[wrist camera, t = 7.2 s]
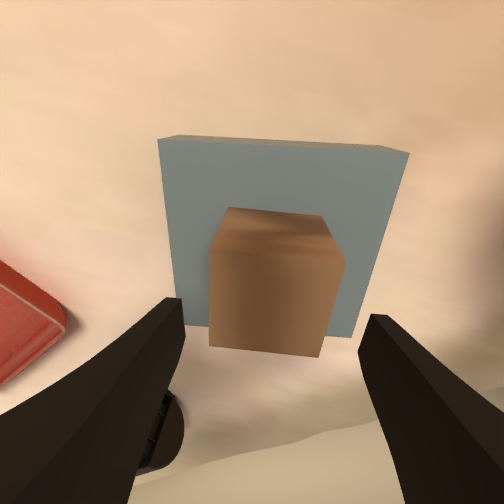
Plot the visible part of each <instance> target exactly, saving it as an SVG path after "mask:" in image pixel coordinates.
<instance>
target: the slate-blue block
mask: <svg viewBox="0 0 504 504" xmlns="http://www.w3.org/2000/svg"><path fill="white" fill-rule="evenodd" d="M157 140H158V148H159V156H160V165H161V173H162V182H163V190H164V198H165V207H166V215H167V223H168V232H169V240H170V249H171V257H172V265H173V274H174V282H175V290H176V298H182V307H183V317H184V325H191V326H204V327H209V248H210V246H211V244H212V242H213V240H214V238H215V235H216V233H217V231H218V229H219V227H220V225H221V222H222V220H223V218H224V216H225V214H226V212H227V209H228V207H236V208H247V209H257V210H267V211H277V212H287V213H297V214H307V215H317V216H322V218H323V219H324V221H325V223H326V225H327V227H328V229H329V231H330V233H331V235H332V237H333V238H334V240H335V242H336V244H337V246H338V248H339V250H340V252H341V254H342V256H343V258H344V259H345V261H346V266H345V269H344V273H343V276H342V279H341V283H340V286H339V290H338V293H337V296H336V300H335V303H334V306H333V310H332V313H331V316H330V320H329V323H328V327H327V330H326V333H325V336H333V337H346V338H351V337H352V334H353V331H354V328H355V325H356V321H357V318H358V315H359V312H360V309H361V306H362V303H363V299H364V296H365V293H366V290H367V287H368V284H369V280H370V277H371V274H372V271H373V268H374V265H375V261H376V258H377V255H378V252H379V249H380V246H381V242H382V239H383V236H384V233H385V230H386V227H387V223H388V220H389V217H390V214H391V211H392V208H393V204H394V201H395V198H396V195H397V192H398V189H399V185H400V182H401V179H402V176H403V173H404V170H405V166H406V163H407V160H408V157H409V154H410V153H407V152H403V151H400V150H396V149H392V148H388V147H384V146H379V145H360V144H342V143H323V142H304V141H286V140H267V139H249V138H230V137H212V136H193V135H176V136H172V137H167V138H162V139H157Z"/></svg>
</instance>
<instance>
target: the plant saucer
mask: <svg viewBox="0 0 504 504" xmlns="http://www.w3.org/2000/svg"><path fill="white" fill-rule="evenodd" d="M65 333H66V320H65V316H64V313H63V310H62V307H61V305H60V303H59V302H58V301H57V300H56V299H54V298H53V297H51V296H50V295H48V294H47V293H46V292H44V291H43V290H41V289H40V288H39V287H37V286H36V285H34V284H33V283H32V282H30V281H29V280H27V279H26V278H24V277H23V276H21V275H20V274H19V273H17V272H16V271H14V270H13V269H11V268H10V267H9V266H7V265H6V264H4V263H3V262H2V261H0V388H1V387H2V386H4V385H5V384H6V383H7V382H8V381H9V380H11V379H12V378H13V377H15V376H16V375H17V374H18V373H19V372H20V371H22V370H23V369H24V368H25V367H27V366H28V365H29V364H30V363H31V362H33V361H34V360H35V359H36V358H37V357H39V356H40V355H41V354H42V353H43V352H45V351H46V350H47V349H48V348H50V347H51V346H52V345H53V344H54V343H56V342H57V341H58V340H59V339H60V338H62V337H63V336H64V335H65Z"/></svg>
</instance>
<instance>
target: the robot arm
mask: <svg viewBox="0 0 504 504" xmlns="http://www.w3.org/2000/svg"><path fill="white" fill-rule="evenodd" d="M185 337H186V336H185V326H184V317H183V307H182V298H169V297H166V298H165V299H163V300H162V301H161V302H160V303H159V304H157V305H156V306H155V307H154V308H153V309H152V310H151V311H149V312H148V313H147V314H146V315H145V316H144V317H143V318H141V319H140V320H139V321H138V322H137V323H136V324H134V325H133V326H132V327H131V328H130V329H128V330H127V331H126V332H125V333H124V334H122V335H121V336H120V337H119V338H117V339H116V340H115V341H114V342H112V343H111V344H110V345H108V346H107V347H106V348H104V349H103V350H102V351H101V352H99V353H98V354H97V355H95V356H94V357H93V358H91V359H90V360H88V361H87V362H86V363H84V364H83V365H81V366H80V367H78V368H77V369H75V370H74V371H72V372H71V373H69V374H68V375H66V376H65V377H63V378H62V379H60V380H59V381H57V382H56V383H54V384H52V385H51V386H49V387H47V388H46V389H44V390H42V391H41V392H39V393H37V394H36V395H34V396H32V397H31V398H29V399H27V400H26V401H24V402H22V403H21V404H19V405H17V406H16V407H14V408H12V409H10V410H9V411H7V412H5V413H3V414H1V415H0V504H127V502H128V499H129V496H130V492H131V489H132V486H133V482H134V479H135V476H136V473H137V469H138V466H139V463H140V460H141V457H142V454H143V451H144V448H145V445H146V441H147V438H148V436H149V433H150V430H151V428H152V425H153V422H154V420H155V418H156V415H157V413H158V410H159V408H160V406H161V403H162V401H163V398H164V396H165V394H166V391H167V389H168V386H169V384H170V382H171V379H172V377H173V374H174V372H175V370H176V367H177V365H178V362H179V359H180V355H181V352H182V348H183V345H184V341H185ZM358 356H359V361H360V365H361V369H362V373H363V377H364V381H365V384H366V386H367V389H368V392H369V395H370V397H371V400H372V403H373V406H374V408H375V411H376V414H377V416H378V419H379V422H380V424H381V427H382V430H383V432H384V435H385V438H386V440H387V443H388V446H389V449H390V452H391V455H392V458H393V461H394V465H395V468H396V472H397V475H398V479H399V482H400V486H401V490H402V493H403V497H404V501H405V504H504V412H502V411H501V410H499V409H498V408H497V407H495V406H494V405H493V404H491V403H490V402H489V401H487V400H486V399H485V398H484V397H482V396H481V395H480V394H478V393H477V392H476V391H475V390H474V389H472V388H471V387H470V386H469V385H467V384H466V383H465V382H464V381H462V380H461V379H460V378H459V377H458V376H456V375H455V374H454V373H453V372H452V371H450V370H449V369H448V368H447V367H446V366H444V365H443V364H442V363H441V362H440V361H439V360H438V359H436V358H435V357H434V356H433V355H432V354H431V353H430V352H428V351H427V350H426V349H425V348H424V347H423V346H422V345H421V344H420V343H418V342H417V341H416V340H415V339H414V338H413V337H412V336H411V335H410V334H409V333H407V332H406V331H405V330H404V329H403V328H402V327H401V326H400V325H399V324H397V323H396V322H395V321H394V320H393V319H392V318H390V317H389V316H388V315H381V314H371V315H370V318H369V321H368V323H367V326H366V329H365V332H364V335H363V338H362V340H361V343H360V346H359V349H358Z"/></svg>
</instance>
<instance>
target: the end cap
mask: <svg viewBox="0 0 504 504" xmlns="http://www.w3.org/2000/svg"><path fill="white" fill-rule="evenodd" d="M183 437H184V419H183V414H182V411H181V409H180V406H179V405H178V403H177V402H176V399H175V397H174V395H173V394H172V393H171V392H170V391H169V390H168V389H167V391H166V394H165V396H164V398H163V401H162V403H161V406H160V408H159V410H158V413H157V415H156V418H155V420H154V422H153V425H152V428H151V430H150V433H149V436H148V438H147V441H146V445H145V448H144V451H143V454H142V457H141V460H140V463H139V466H138V469H137V473H136V476H139V475H142V474H145V473H149V472H152V471H155V470H159V469H162V468H164V467H166V466H168V465H169V464H170V463H171V462H172V461H173V460H174V459H175V457H176V456H177V454H178V452H179V450H180V448H181V445H182V442H183Z"/></svg>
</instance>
